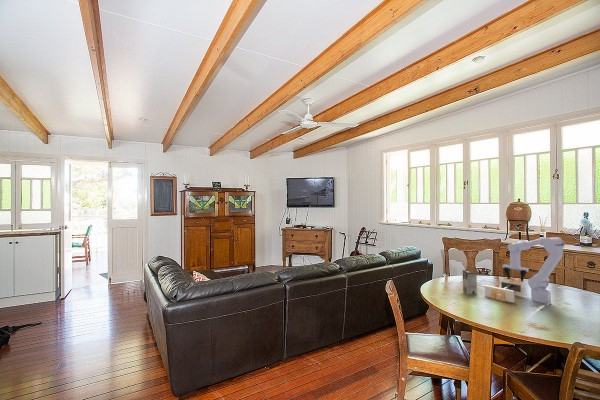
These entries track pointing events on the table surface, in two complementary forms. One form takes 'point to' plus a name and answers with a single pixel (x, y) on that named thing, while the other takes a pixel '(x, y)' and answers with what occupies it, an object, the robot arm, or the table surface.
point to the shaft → (511, 286)
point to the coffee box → (469, 282)
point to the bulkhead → (508, 294)
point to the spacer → (498, 293)
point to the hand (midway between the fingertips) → (515, 280)
